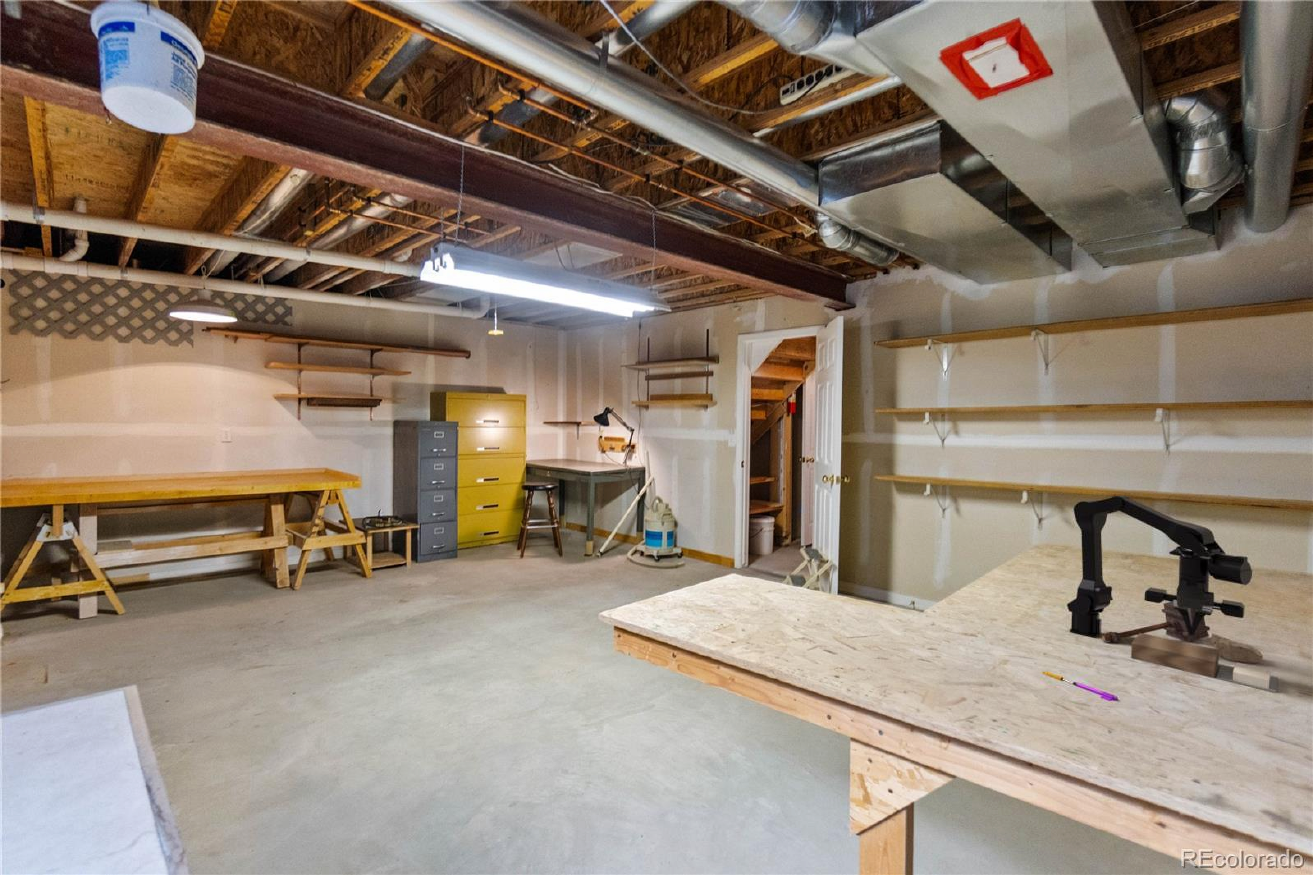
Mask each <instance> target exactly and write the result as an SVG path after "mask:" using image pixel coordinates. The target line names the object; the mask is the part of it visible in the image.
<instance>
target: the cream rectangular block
mask: <svg viewBox="0 0 1313 875" xmlns="http://www.w3.org/2000/svg"><path fill="white" fill-rule="evenodd" d="M1271 676H1272V670H1271V669H1267V668H1263V667H1260V666H1258V667H1257V666H1254V665H1251V664H1250V665H1249V664H1247V663H1246V664H1244V663H1241V662H1235V665H1234V671H1233V680H1234V681H1238V682H1243V683H1247V684H1251V685H1255V686H1259V687H1263V688H1267V689H1269V684H1270V679H1271Z"/></svg>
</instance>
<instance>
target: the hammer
mask: <svg viewBox="0 0 1313 875" xmlns="http://www.w3.org/2000/svg"><path fill="white" fill-rule="evenodd" d="M1173 606H1174V603H1173V602H1171V601H1167V602H1165V603H1163V608H1162V609H1161V612H1162V613H1164V614H1165V622H1160V623H1158V624H1153V625H1149V626H1145V627H1140V628H1136V629H1130V630H1127V631H1121V632H1118V631H1109V632H1106V633H1105V635H1102V637H1101V640H1102V642H1104V643H1105V642H1109V643H1110V642H1111V643H1116V642H1117V641H1121V640H1122V639H1124V638H1130V637H1134V636H1138V635H1139V633H1143V634H1148V633H1151V632H1155V631H1158V630H1159V631H1160V630H1165V634H1166V636H1169V637H1173V638H1174V637H1175V638H1174V639H1177V640H1179V641H1182V642H1185V643H1192V642H1195V641H1198V640H1201V639H1204V638H1209V636H1210V634H1209V631H1210V630H1211V627H1210V626H1207V625H1206V622H1205V616H1204V617H1203V619H1202V620H1201V621H1200V623H1199V625H1198V627H1197V629H1196V632H1195V634H1194V635H1189V632H1188V629H1187V627H1186V624H1185V622H1184V619H1183V617H1182V615H1181V614H1180V612H1179V611H1178V610H1176V609H1173ZM1190 609H1191V608H1190ZM1195 611H1196V610H1194V609H1191V619H1192V625H1193V621H1194V616H1195Z"/></svg>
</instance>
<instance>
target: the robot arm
mask: <svg viewBox="0 0 1313 875" xmlns="http://www.w3.org/2000/svg"><path fill="white" fill-rule="evenodd" d="M1116 512H1121V513H1123V514H1125V515H1127V516H1129V517H1131V518H1133V519H1135V520H1138V521H1139V522H1141V523H1144V524H1146V525H1147V526H1150V527H1151V528H1154V529H1156V530H1158V531H1160V532H1162V533H1163V534H1165V536H1166V537H1167V538H1168V539H1169V540H1170V541H1172V542H1174V543H1175V544H1176V545H1178V546H1176V547H1175V548H1174V549H1172V550H1170V551H1169V552H1168V554H1169V555H1172V556H1177V557H1179V558H1178V559H1179V561H1178V562H1179V563H1178V564H1179V565H1178V567H1179V568H1178V586H1177V588H1176V594H1173V593H1172V594H1171V593H1168V592H1167V589H1162V588H1155V587H1152V586H1151V587H1149V588H1147V589H1146V590H1145V592H1144V599H1143V600H1144V601H1145V602H1151V603H1155V604H1161V603H1162V602H1164V601H1166V602H1173V603H1174V606H1173V609H1176V610H1178V611H1179V612H1180V614H1181V615H1182V617H1183V619H1184V622H1185V624H1186V627H1187V629H1188V632H1189V635H1194V634H1195V632H1196V629H1197V627H1198V625H1199V623H1200V621H1201V620H1202V619H1203V617H1204V618H1205V616H1212V614H1213V612H1214V610H1216V611H1217V610H1218V611H1220V612H1221V613H1222V614H1223V615H1225V616H1228V617H1232V618H1238V619H1243V618H1244V617H1245V609H1246V605H1245V604H1243V602H1240V601H1233V600H1227V599H1222V600H1221V602H1219V601H1218V602H1217V601H1215V592H1212V591H1209V589H1210V588H1209V585H1210V584H1209V583H1210V577H1212V578H1213V579H1214V580H1216V581H1217V580H1218V581H1222V582H1228V583H1234V584H1238V585H1243V586H1247V585H1249V584H1250V582H1251V580H1252V578H1253V569H1252V566H1251V563H1249V562H1248V556H1244V555H1243V556H1242V555H1232V554H1226V552H1225V551H1224V549H1222V547H1221V546H1220V545H1219V543H1218V542H1217V541H1216V540H1215V535H1214V534H1213V532H1212V530H1210V529H1209V528H1208V527H1205V526H1202V525H1198V524H1196V523H1192V522H1189V521H1184V520H1179V519H1175V518H1173V517H1171V516H1169V515H1166V514H1164V513H1163V512H1160V511H1158V510H1155V509H1154V508H1151V507H1149V506H1147V505H1144V504H1143V503H1141V502H1139V501H1136V500H1133V499H1132V498H1130V497H1129V496H1127V495H1114V496H1112V497H1109V498H1105V499H1100V500H1085V501H1078V502H1077V503H1076V504H1075V505H1074V507H1073V514H1074V520H1075V522H1076V524H1077V526H1078V528H1079V529H1080V532H1081V533H1080V535H1081V537H1080V538H1081V565H1082V566H1081V568H1082V578H1081V580H1080V583H1079V584H1078V587H1077V590H1076V597H1075V598H1074V599H1073V600H1071V601H1070V602H1068V603H1067V604H1066V607H1067V609H1068V612H1070V613H1071V623H1070V624H1071V625H1070V627H1071V628H1070V629H1069V632H1070V633H1074V634H1079V635H1083V636H1089V637H1091V638H1097V637H1098V636H1099V635H1101V633H1102V620H1103V619H1102V618H1100V613H1101V614H1102V613H1103V612H1104V610H1105V609H1107V607H1110V604H1111V601H1113V600H1114V599H1113V594H1112V591H1113V587H1112V586H1109V585H1106V583H1105V581H1104V577H1103V576H1104V575H1103V548H1102V547H1103V546H1102V545H1103V544H1102V542H1103V541H1102V531H1103V528H1104V526H1105V525H1106V522H1107V519H1108V515H1109V514H1113V513H1116ZM1190 608H1191V609H1194V610H1196V611H1195V616H1194V621H1193V625H1192V619H1191V609H1190Z"/></svg>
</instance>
